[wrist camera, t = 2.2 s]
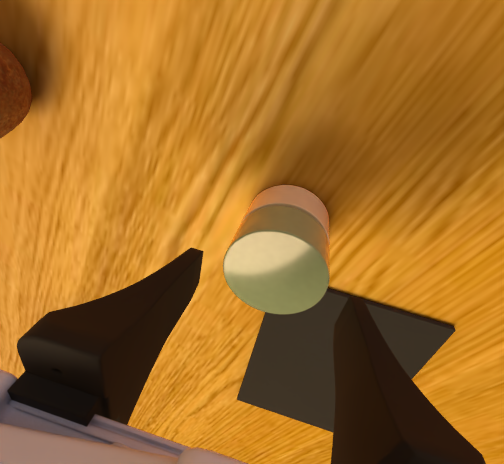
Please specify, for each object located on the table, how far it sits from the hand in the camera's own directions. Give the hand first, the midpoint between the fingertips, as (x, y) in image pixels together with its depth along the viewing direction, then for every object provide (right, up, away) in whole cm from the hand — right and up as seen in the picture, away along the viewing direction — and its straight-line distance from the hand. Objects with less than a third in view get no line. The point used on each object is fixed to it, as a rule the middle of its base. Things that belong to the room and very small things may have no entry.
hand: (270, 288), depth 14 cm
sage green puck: (+1, +2, +3) cm, 4 cm away
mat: (+6, -10, +12) cm, 17 cm away
